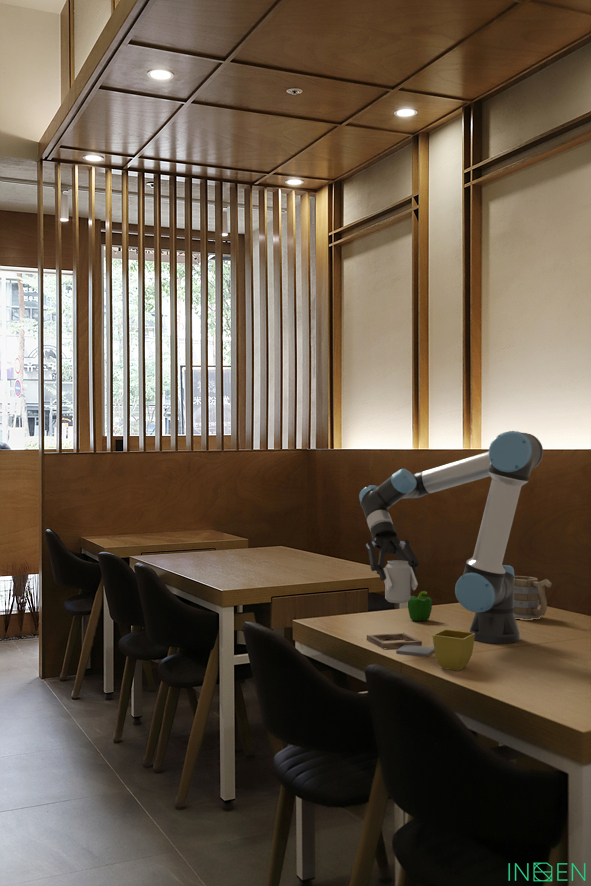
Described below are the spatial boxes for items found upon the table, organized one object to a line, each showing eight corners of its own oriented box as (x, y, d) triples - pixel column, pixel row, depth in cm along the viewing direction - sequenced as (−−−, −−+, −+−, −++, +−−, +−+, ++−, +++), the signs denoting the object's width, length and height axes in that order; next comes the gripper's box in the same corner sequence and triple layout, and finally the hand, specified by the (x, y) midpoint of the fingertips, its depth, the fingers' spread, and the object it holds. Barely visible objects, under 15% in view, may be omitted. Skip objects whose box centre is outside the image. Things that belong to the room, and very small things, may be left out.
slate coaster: (435, 650, 238) (435, 647, 238) (427, 656, 230) (427, 653, 230) (405, 647, 242) (405, 644, 242) (396, 653, 234) (396, 650, 234)
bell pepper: (401, 619, 285) (402, 590, 285) (417, 617, 290) (417, 588, 291) (421, 623, 279) (421, 593, 279) (436, 620, 284) (436, 591, 285)
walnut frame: (403, 637, 255) (403, 633, 255) (421, 646, 243) (421, 641, 243) (366, 639, 251) (366, 634, 251) (382, 648, 239) (382, 643, 239)
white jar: (409, 604, 240) (409, 562, 240) (383, 602, 242) (383, 561, 242) (411, 600, 247) (411, 559, 248) (386, 598, 249) (386, 559, 249)
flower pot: (463, 674, 211) (463, 638, 212) (431, 669, 216) (431, 634, 216) (475, 667, 219) (475, 633, 219) (444, 662, 223) (444, 629, 224)
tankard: (496, 615, 297) (496, 573, 297) (524, 613, 302) (524, 572, 302) (534, 625, 279) (534, 580, 279) (563, 623, 284) (563, 579, 284)
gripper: (408, 535, 263) (430, 594, 247) (348, 536, 257) (366, 596, 241) (415, 519, 258) (438, 578, 242) (354, 520, 252) (373, 580, 236)
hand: (402, 587), depth 241 cm, fingers closed on white jar, 7 cm apart
